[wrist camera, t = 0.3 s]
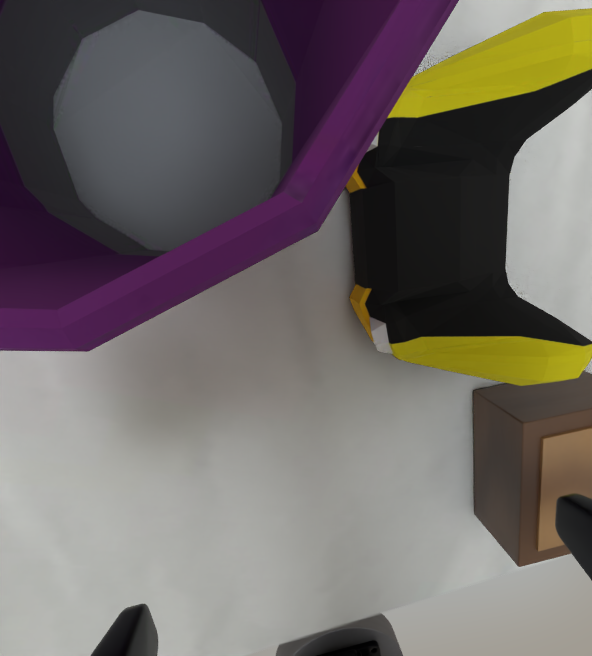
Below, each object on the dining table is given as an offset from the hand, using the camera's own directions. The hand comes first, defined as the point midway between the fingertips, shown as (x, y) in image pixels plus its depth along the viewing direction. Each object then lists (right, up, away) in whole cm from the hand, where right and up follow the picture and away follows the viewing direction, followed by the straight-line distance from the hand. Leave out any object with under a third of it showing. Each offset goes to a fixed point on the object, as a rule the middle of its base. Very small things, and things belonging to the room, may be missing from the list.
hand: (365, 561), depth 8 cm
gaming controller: (+6, +10, +11) cm, 16 cm away
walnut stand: (+13, -2, +15) cm, 20 cm away
